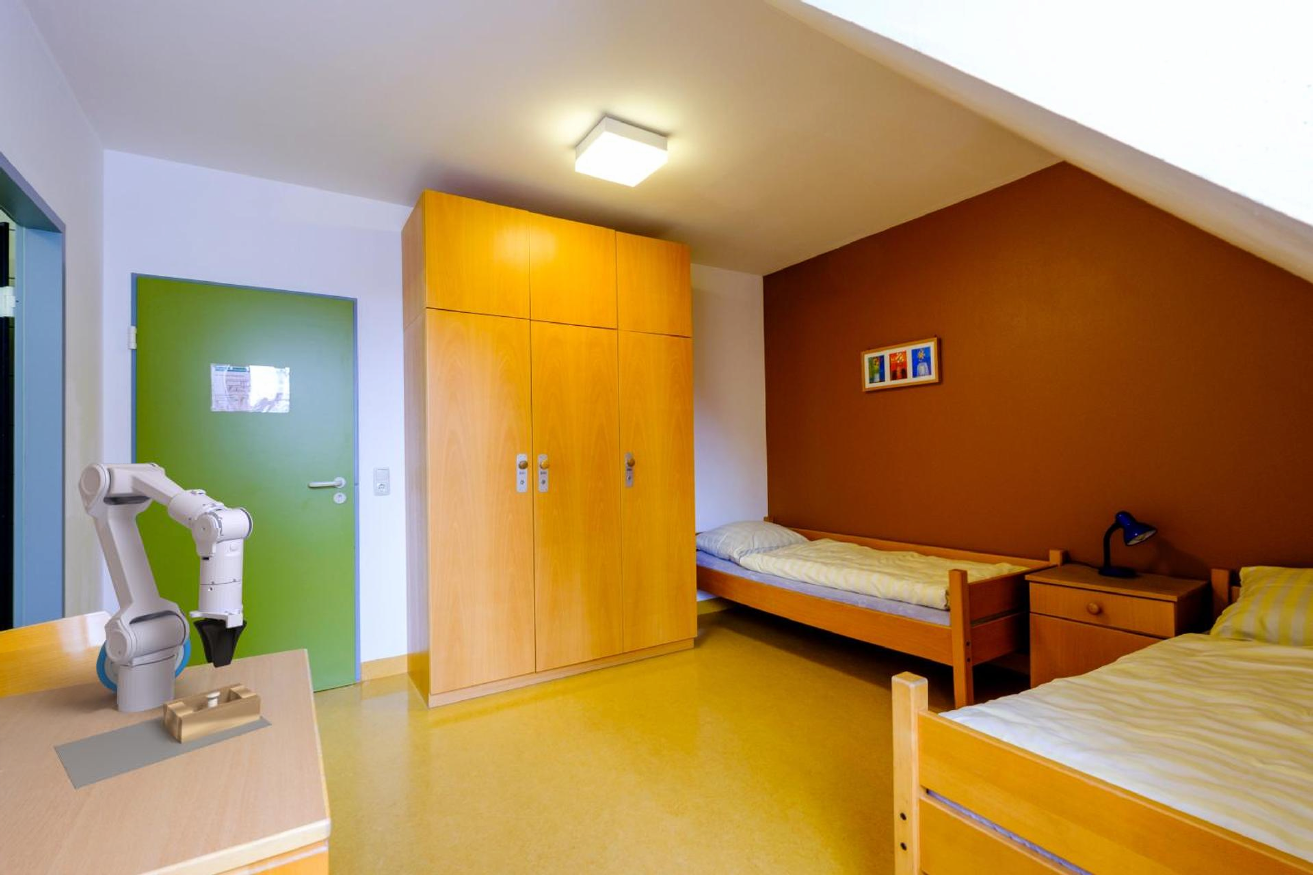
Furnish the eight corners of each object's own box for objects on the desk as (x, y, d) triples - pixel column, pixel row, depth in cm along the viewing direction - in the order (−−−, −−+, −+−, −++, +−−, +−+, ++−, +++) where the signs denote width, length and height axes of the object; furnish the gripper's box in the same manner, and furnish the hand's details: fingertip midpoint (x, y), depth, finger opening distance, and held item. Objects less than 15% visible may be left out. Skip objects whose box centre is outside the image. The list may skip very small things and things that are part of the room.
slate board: (53, 754, 82) (55, 716, 83) (233, 703, 100) (234, 671, 100) (75, 798, 72) (77, 753, 72) (272, 731, 89) (273, 696, 90)
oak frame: (163, 725, 89) (163, 702, 89) (238, 703, 97) (238, 682, 97) (181, 743, 83) (182, 719, 83) (259, 718, 91) (260, 697, 91)
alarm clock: (94, 705, 100) (97, 619, 100) (97, 694, 104) (100, 612, 105) (190, 685, 108) (192, 607, 109) (188, 676, 113) (191, 601, 114)
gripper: (178, 580, 95) (175, 661, 95) (205, 591, 87) (202, 680, 86) (228, 573, 101) (226, 649, 100) (258, 583, 92) (256, 667, 92)
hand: (218, 663), depth 94 cm, fingers open, 3 cm apart
